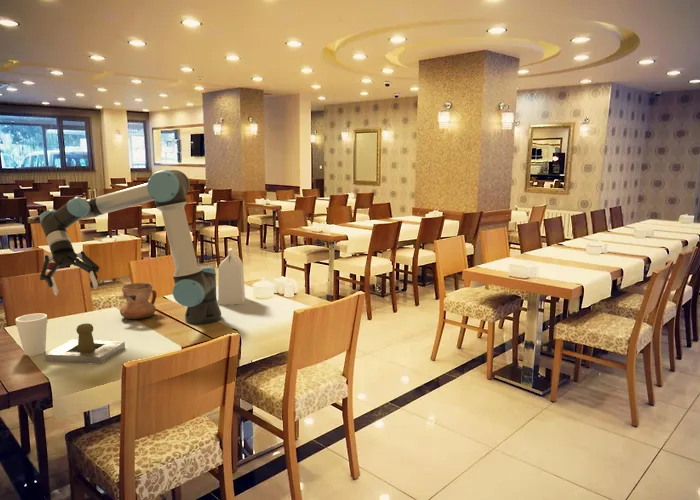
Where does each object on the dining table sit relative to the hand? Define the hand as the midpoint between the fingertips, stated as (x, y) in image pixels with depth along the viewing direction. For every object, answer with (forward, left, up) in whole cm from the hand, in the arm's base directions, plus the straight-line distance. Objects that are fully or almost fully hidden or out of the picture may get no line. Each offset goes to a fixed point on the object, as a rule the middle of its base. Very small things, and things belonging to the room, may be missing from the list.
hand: (76, 290), depth 186 cm
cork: (-10, +12, -20) cm, 26 cm away
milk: (-38, -61, -20) cm, 75 cm away
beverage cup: (-20, -67, -20) cm, 73 cm away
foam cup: (+9, +13, -20) cm, 25 cm away
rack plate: (-10, +12, -20) cm, 26 cm away
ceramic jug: (-6, -32, -20) cm, 38 cm away
